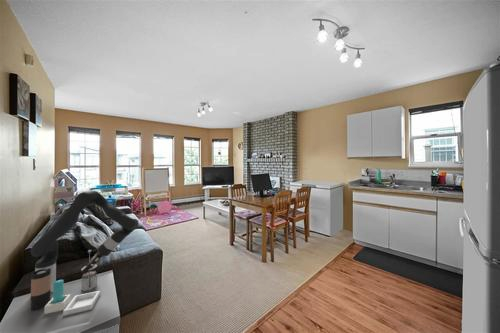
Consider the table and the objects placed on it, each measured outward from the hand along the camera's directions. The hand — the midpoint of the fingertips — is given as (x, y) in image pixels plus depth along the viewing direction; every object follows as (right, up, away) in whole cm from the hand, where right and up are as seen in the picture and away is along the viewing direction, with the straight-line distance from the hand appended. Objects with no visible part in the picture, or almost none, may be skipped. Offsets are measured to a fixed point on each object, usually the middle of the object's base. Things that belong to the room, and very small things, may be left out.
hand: (85, 269), depth 113 cm
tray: (+2, -19, -4) cm, 19 cm away
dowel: (-10, -18, -6) cm, 21 cm away
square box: (-10, -19, -6) cm, 22 cm away
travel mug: (-21, -19, -4) cm, 29 cm away
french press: (-8, -20, +12) cm, 24 cm away
